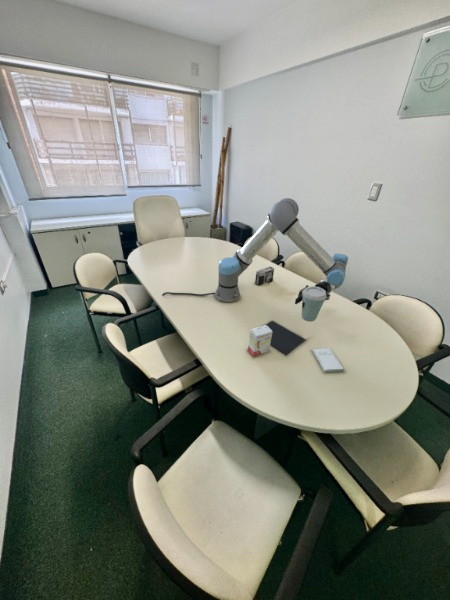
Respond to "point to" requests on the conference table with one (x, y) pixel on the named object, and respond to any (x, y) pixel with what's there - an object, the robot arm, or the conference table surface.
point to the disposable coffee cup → (312, 302)
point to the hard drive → (328, 360)
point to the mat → (283, 338)
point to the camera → (264, 276)
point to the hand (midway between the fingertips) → (299, 303)
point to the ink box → (260, 340)
